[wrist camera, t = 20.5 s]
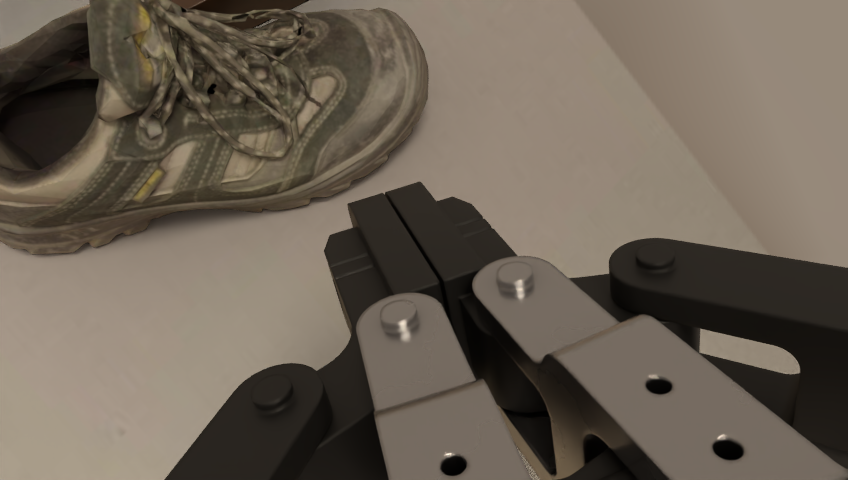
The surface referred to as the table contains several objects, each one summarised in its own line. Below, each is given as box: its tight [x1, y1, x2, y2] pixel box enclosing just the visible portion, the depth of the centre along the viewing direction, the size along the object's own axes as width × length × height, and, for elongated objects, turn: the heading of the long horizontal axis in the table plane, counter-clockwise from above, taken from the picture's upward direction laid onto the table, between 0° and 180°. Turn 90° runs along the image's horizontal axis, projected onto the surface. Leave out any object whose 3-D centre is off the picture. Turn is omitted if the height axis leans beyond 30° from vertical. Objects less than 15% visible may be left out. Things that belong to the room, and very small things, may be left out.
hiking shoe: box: [0, 0, 428, 254], centre depth 28 cm, size 9×21×12 cm
